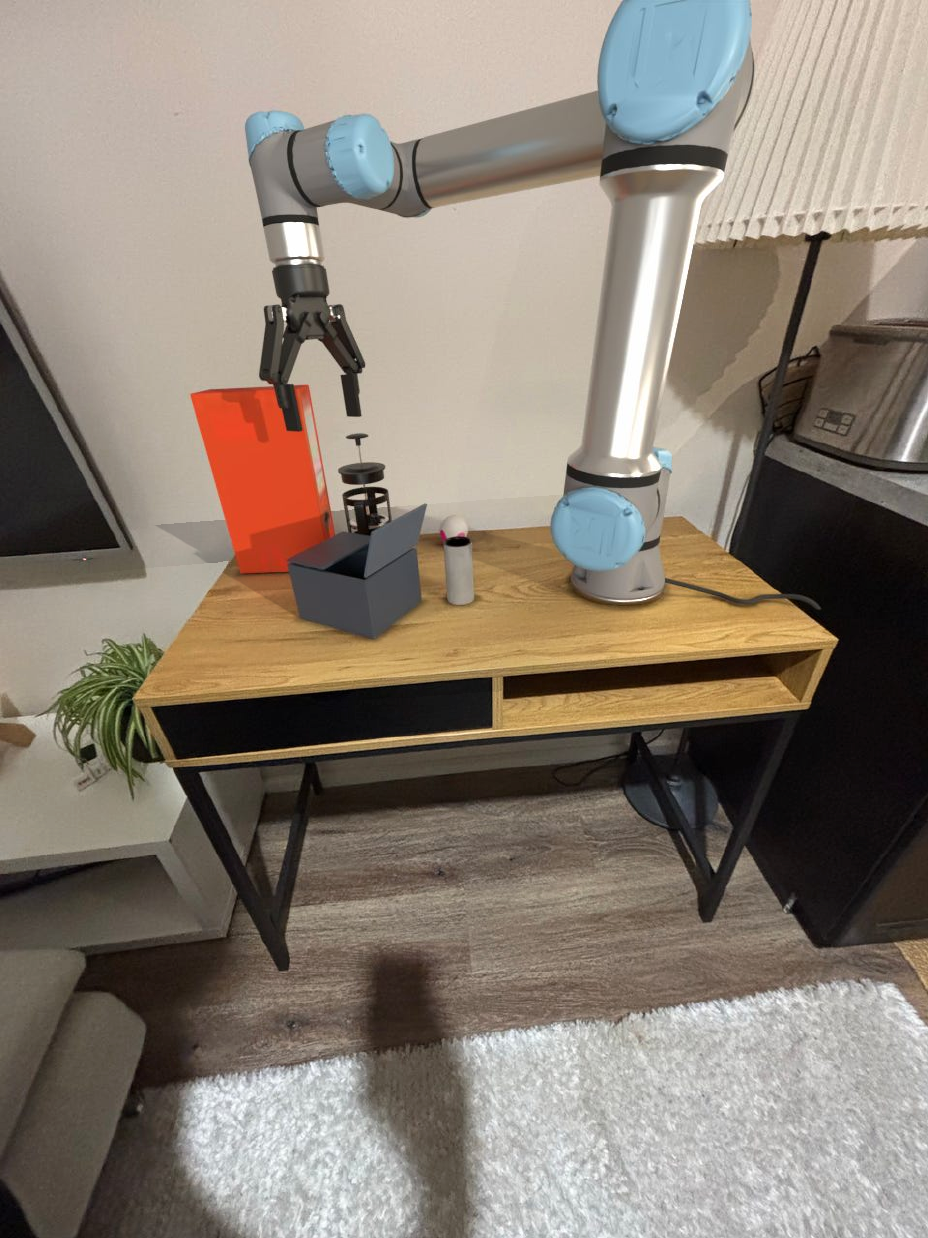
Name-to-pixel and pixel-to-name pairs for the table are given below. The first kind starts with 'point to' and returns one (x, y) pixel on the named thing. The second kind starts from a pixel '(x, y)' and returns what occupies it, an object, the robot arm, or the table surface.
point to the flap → (394, 539)
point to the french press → (364, 475)
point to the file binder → (265, 474)
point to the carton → (353, 586)
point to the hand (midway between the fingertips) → (326, 423)
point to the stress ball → (453, 527)
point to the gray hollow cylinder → (459, 570)
